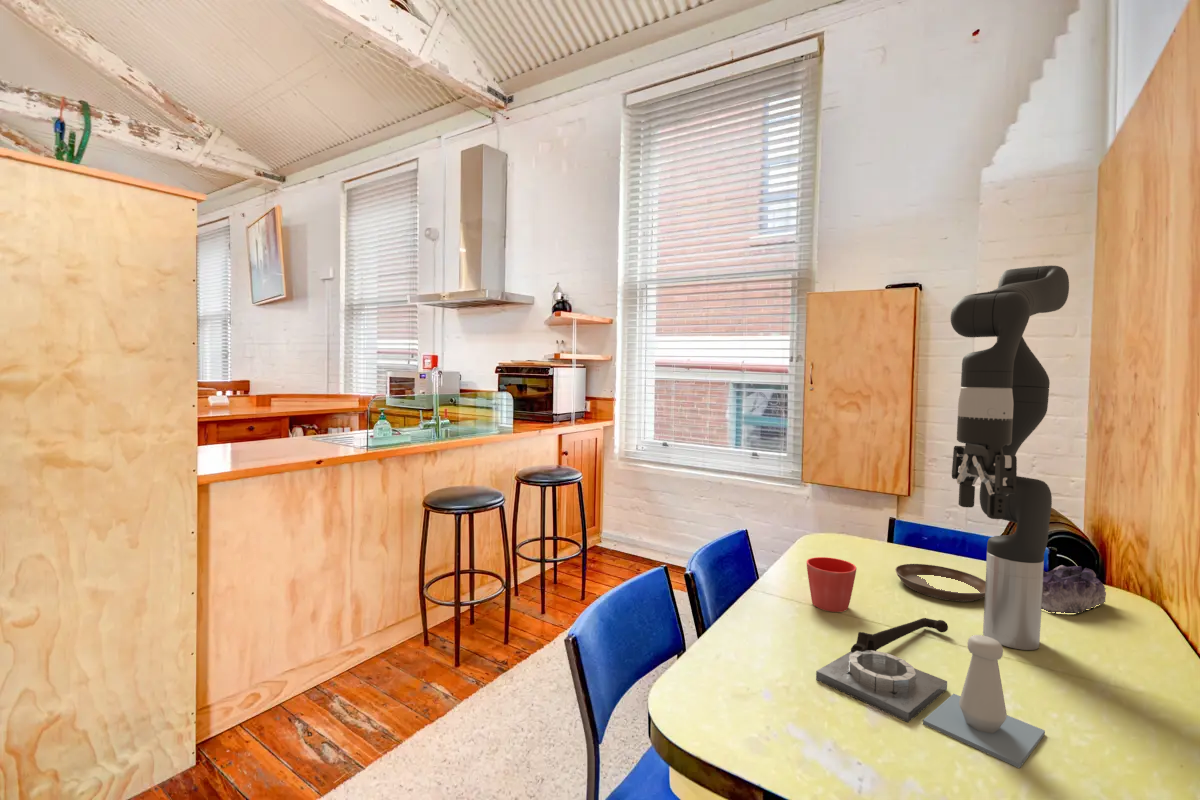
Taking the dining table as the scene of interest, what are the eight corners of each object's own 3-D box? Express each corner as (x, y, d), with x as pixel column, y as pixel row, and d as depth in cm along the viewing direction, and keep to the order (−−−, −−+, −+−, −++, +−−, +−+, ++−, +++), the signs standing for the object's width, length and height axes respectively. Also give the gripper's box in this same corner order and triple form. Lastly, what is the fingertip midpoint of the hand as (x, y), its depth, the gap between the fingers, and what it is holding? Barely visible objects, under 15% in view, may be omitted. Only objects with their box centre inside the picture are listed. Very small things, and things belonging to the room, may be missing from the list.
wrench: (950, 641, 114) (875, 673, 96) (923, 634, 118) (847, 664, 100) (949, 615, 114) (875, 642, 97) (923, 608, 118) (847, 634, 101)
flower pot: (804, 610, 125) (805, 567, 125) (805, 593, 135) (807, 554, 135) (856, 619, 121) (857, 574, 121) (853, 601, 131) (855, 560, 131)
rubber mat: (953, 697, 91) (953, 693, 91) (1044, 734, 82) (1044, 730, 82) (922, 723, 84) (923, 719, 84) (1019, 768, 74) (1019, 763, 74)
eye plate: (858, 654, 105) (859, 636, 105) (946, 689, 93) (947, 669, 93) (816, 679, 96) (816, 659, 96) (908, 722, 84) (909, 699, 84)
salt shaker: (1013, 729, 82) (1017, 642, 81) (994, 742, 79) (998, 651, 78) (969, 709, 87) (973, 627, 86) (950, 720, 84) (954, 635, 83)
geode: (1085, 625, 121) (1079, 578, 122) (1022, 613, 131) (1017, 570, 132) (1117, 603, 132) (1111, 560, 133) (1057, 593, 142) (1052, 554, 142)
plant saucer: (988, 586, 144) (989, 573, 144) (992, 613, 127) (993, 599, 126) (898, 570, 155) (898, 558, 155) (891, 593, 138) (891, 579, 138)
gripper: (1038, 418, 85) (1032, 524, 85) (984, 413, 99) (979, 504, 99) (985, 417, 85) (980, 522, 86) (939, 412, 100) (935, 502, 100)
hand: (980, 512), depth 93 cm, fingers open, 8 cm apart
